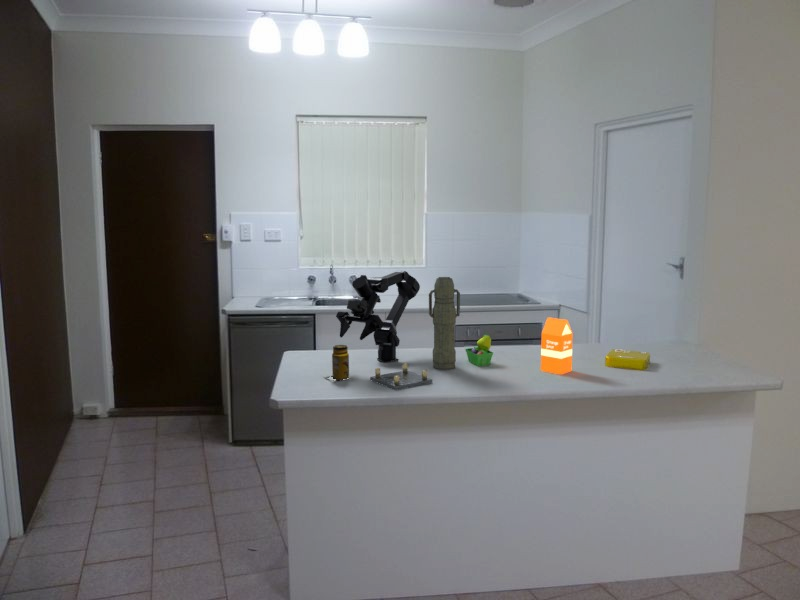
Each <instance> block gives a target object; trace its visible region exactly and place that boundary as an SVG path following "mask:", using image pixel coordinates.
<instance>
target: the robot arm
mask: <svg viewBox="0 0 800 600" xmlns="http://www.w3.org/2000/svg"><path fill="white" fill-rule="evenodd" d="M394 285H396V287H397V293H398V295H397V297H396V299H395V301H394V303H393V305H392V307H391V309H389V313H388V314H387V317H386V318H385V320H384V321H383V320H382V319H381V317H380V316H379V314H375V311H374V308H375V306H376V304H377V303H381V302H382V301H381V298H380V295H378V294H384V293H385V292H387V291H388V290H389V288H390V287H392V286H394ZM351 286H352V288H353V289H354V291H355V292H356V293H357V295H358V296H359V297H360V298H361V299H360V300H352V299H351V300H349V299H348V301H347V305H346V309H347V310H350V312H351V314H352V315H351V314H350V313H349V311H343V310H339V311H338V312H337V313H336V315H335V318H336V319H337V320H338V321H339V323H340V328H339V329H340V330H339V337H340V338H343V337H344V336H345V334H346V333H347V332H348V331H349V329H350V328H351V325H352V323H353V322H355V323H362V324H365V325H364V327H363V329H362V331H361V334H360V336H359V340H360V341H363V340H364V339H365V338H367V337H368V336H369V335H371V334H372V333H373V340H374V343H375V346H378V350H377V357H376V360H378V361H381V362H383V363H390V362H395V361H399V358H398V357H397V347H398V346H400V341H401V339H400V338H399V337H398V336H397V335H398V332H397V326H398V323H399V321H400V320H401V317H402V315H403V313H404V311H405V309H406V307H407V305H408V303H409V301H410V300H411V299H413V298H415V297H416V296H417V294H418V293H419V291H420V288H421V284H420V283H419V281H417V279H416V278H415V277H413V276H412V275H411V274H409V272H408V271H406V270H395V271H393V272H392V273H389V274H387V275H384V276H381V277H380V276H378V277H377V276H376V277H374V276H373V277H369V278H368V277H367V276H366V274H360V277H357V278H355V279H354V280H353V281H352V284H351Z"/></svg>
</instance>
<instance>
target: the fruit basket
mask: <svg viewBox="0 0 800 600" xmlns="http://www.w3.org/2000/svg"><path fill="white" fill-rule="evenodd" d="M491 342H492V339H491V336H490V335H488V334H484V335H482V338H480V339H478V340H477V342H476V344H477V346H474V347H470V348H469V347H468V348H465V349H464V350H465V352H466V356H467V359H468V360H467V361H468V362H469V363H471V364H473V365H475V366H477V367H483V366H484V367H485V366H490V365H491V361H492V357H493V355H494V352H492V351H491V350H490V349H491V347H492V346H491V344H492V343H491Z"/></svg>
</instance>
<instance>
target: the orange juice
mask: <svg viewBox="0 0 800 600" xmlns="http://www.w3.org/2000/svg"><path fill="white" fill-rule="evenodd" d="M573 334H574V333H573V331H572V329H571V326H570V323H569V321H568V319H561V318H555V317H547V319H546V320H545V324H544V326H543V329H542V331H541V345H540V347H541V348H540V371H541V372H545V373H551V374H554V375H555V374H556V375H559V376H560V375H564V374H567V373H569V372H572V368H573V367H572V366H573V365H572V364H573V337H574V335H573Z"/></svg>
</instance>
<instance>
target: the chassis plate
mask: <svg viewBox="0 0 800 600" xmlns="http://www.w3.org/2000/svg"><path fill="white" fill-rule="evenodd" d="M408 366H409V365H408V363H403V364H402V370H401V371H396V372H389V373H385V374H381V368H378V367H377V368H375V369H374V372H375V374H374V375H372V376H370V377H369V379H370V381H371V380H372V381H371V382H374V381H375V382H374V383H376V382H378V383H377V384H379V383H380V384H379V385H381V384H383V385H382V386H384V385H385V386H384V387H386V386H387V388H388V389H391V388H392V389H391V390H394V391H398V390H402V388H403V389H407V387H408V388H412V386H413V387H417V386H421V385H422V386H423V385H428V384H432V383H433V379H432V378H430V377H428V370H426V369H425V370H424V369H423V370H421V374H418V373H414V372H413V371H409V369H408V368H409V367H408ZM397 389H398V390H397Z"/></svg>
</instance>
